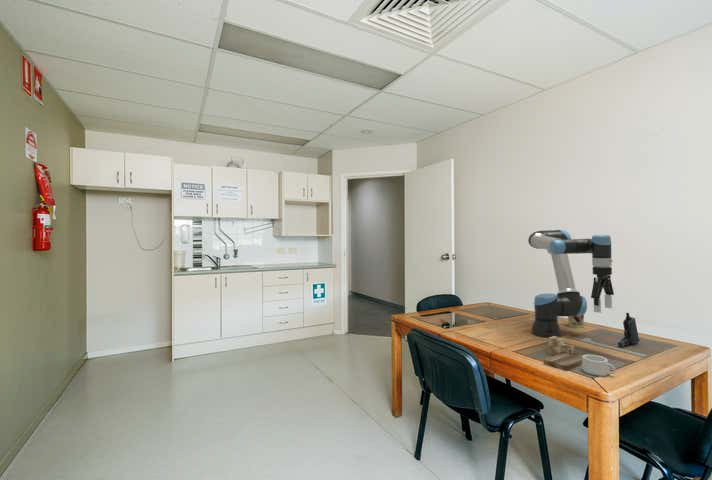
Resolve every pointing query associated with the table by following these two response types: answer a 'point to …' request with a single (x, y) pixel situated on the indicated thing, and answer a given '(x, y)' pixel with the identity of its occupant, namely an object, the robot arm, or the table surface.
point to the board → (564, 360)
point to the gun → (629, 332)
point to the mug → (596, 365)
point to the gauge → (558, 345)
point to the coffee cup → (576, 321)
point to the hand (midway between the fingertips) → (603, 310)
